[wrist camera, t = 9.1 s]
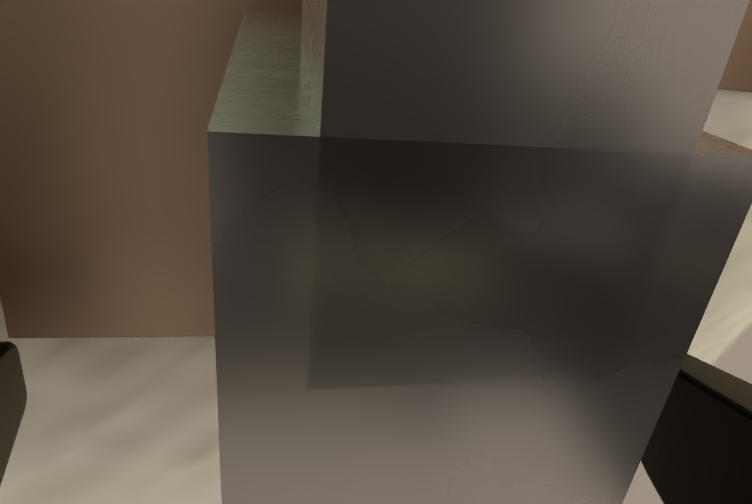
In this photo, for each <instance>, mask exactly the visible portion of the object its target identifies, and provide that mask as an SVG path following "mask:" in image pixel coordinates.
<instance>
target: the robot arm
mask: <svg viewBox="0 0 752 504" xmlns="http://www.w3.org/2000/svg"><path fill="white" fill-rule="evenodd" d="M26 400H27V391H26V386H25V381H24V376H23V371H22V366H21V361H20V356H19V352H18V349H17V347H16V345H14V344H13V343H11V342H0V485H1V482H2V479H3V476H4V473H5V470H6V467H7V464H8V460H9V457H10V454H11V451H12V448H13V445H14V442H15V439H16V436H17V432H18V429H19V426H20V423H21V420H22V417H23V414H24V411H25V407H26ZM641 462H642V464H643V466H644V468H645V470H646V473H647V475H648V476H649V478H650V480H651V482H652V484H653V486H654V487H655V489H656V491H657V493H658V494H659V496H660V498H661V500H662V501H663V503H664V504H752V384H750V383H748V382H746V381H744V380H742V379H740V378H738V377H735V376H733V375H731V374H729V373H727V372H725V371H722V370H721V369H718V368H716V367H714V366H712V365H710V364H708V363H706V362H703V361H701V360H699V359H697V358H695V357H693V356H691V355H689V354H686V356H685V359H684V361H683V363H682V366H681V368H680V370H679V373H678V375H677V377H676V379H675V382H674V384H673V386H672V389H671V391H670V393H669V396H668V398H667V400H666V403H665V405H664V407H663V410H662V412H661V414H660V417H659V419H658V421H657V423H656V426H655V428H654V430H653V433H652V435H651V437H650V440H649V442H648V444H647V447H646V449H645V451H644V454H643V456H642V458H641Z"/></svg>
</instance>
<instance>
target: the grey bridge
mask: <svg viewBox="0 0 752 504" xmlns="http://www.w3.org/2000/svg"><path fill="white" fill-rule="evenodd" d="M749 1H750V0H302V13H296V12H285V11H275V10H264V9H253V8H245V11H244V14H243V18H242V21H241V24H240V27H239V30H238V34H237V37H236V40H235V43H234V46H233V50H232V53H231V56H230V59H229V62H228V66H227V69H226V72H225V75H224V78H223V82H222V85H221V88H220V91H219V94H218V98H217V101H216V104H215V107H214V110H213V114H212V117H211V120H210V123H209V126H208V130H207V147H208V171H209V196H210V221H211V246H212V270H213V295H214V320H215V345H216V370H217V394H218V419H219V444H220V469H221V494H222V504H622V502H623V500H624V497H625V495H626V493H627V490H628V488H629V486H630V484H631V481H632V479H633V477H634V474H635V472H636V470H637V468H638V465H639V462H640V461H641V458H642V456H643V454H644V451H645V449H646V447H647V444H648V442H649V440H650V437H651V435H652V433H653V430H654V428H655V426H656V423H657V421H658V419H659V417H660V414H661V412H662V410H663V407H664V405H665V403H666V400H667V398H668V396H669V393H670V391H671V389H672V386H673V384H674V382H675V379H676V377H677V375H678V373H679V370H680V368H681V366H682V363H683V361H684V359H685V356H686V354H687V352H688V349H689V347H690V345H691V342H692V340H693V338H694V335H695V333H696V331H697V328H698V326H699V324H700V322H701V319H702V317H703V315H704V312H705V310H706V308H707V305H708V303H709V301H710V298H711V296H712V294H713V291H714V289H715V287H716V284H717V282H718V280H719V277H720V275H721V273H722V271H723V268H724V266H725V264H726V261H727V259H728V257H729V254H730V252H731V250H732V247H733V245H734V243H735V240H736V238H737V236H738V233H739V231H740V229H741V227H742V224H743V222H744V220H745V217H746V215H747V213H748V210H749V208H750V206H751V203H752V150H751V149H748V148H745V147H743V146H740V145H737V144H735V143H732V142H730V141H727V140H724V139H722V138H719V137H717V136H714V135H711V134H709V133H706V132H704V131H702V130H703V127H704V124H705V122H706V119H707V116H708V113H709V111H710V108H711V105H712V102H713V100H714V97H715V94H716V91H717V89H718V86H719V83H720V81H721V78H722V75H723V72H724V70H725V67H726V64H727V61H728V59H729V56H730V53H731V50H732V48H733V45H734V42H735V39H736V37H737V34H738V31H739V29H740V26H741V23H742V20H743V18H744V15H745V12H746V9H747V7H748V4H749Z"/></svg>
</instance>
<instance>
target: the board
mask: <svg viewBox="0 0 752 504" xmlns="http://www.w3.org/2000/svg"><path fill="white" fill-rule="evenodd" d="M245 8H253V9H264V10H275V11H285V12H296V13H302V0H0V298H1V302H2V307H3V312H4V316H5V321H6V326H7V331H8V335H9V338H65V337H182V336H215V320H214V295H213V270H212V246H211V221H210V196H209V171H208V147H207V130H208V126H209V123H210V120H211V117H212V114H213V110H214V107H215V104H216V101H217V98H218V94H219V91H220V88H221V85H222V82H223V78H224V75H225V72H226V69H227V66H228V62H229V59H230V56H231V53H232V50H233V46H234V43H235V40H236V37H237V34H238V30H239V27H240V24H241V21H242V18H243V14H244V11H245ZM718 89H724V90H733V91H743V92H752V0H750V1H749V4H748V7H747V9H746V12H745V15H744V18H743V20H742V23H741V26H740V29H739V31H738V34H737V37H736V39H735V42H734V45H733V48H732V50H731V53H730V56H729V59H728V61H727V64H726V67H725V70H724V72H723V75H722V78H721V81H720V83H719V86H718Z"/></svg>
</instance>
